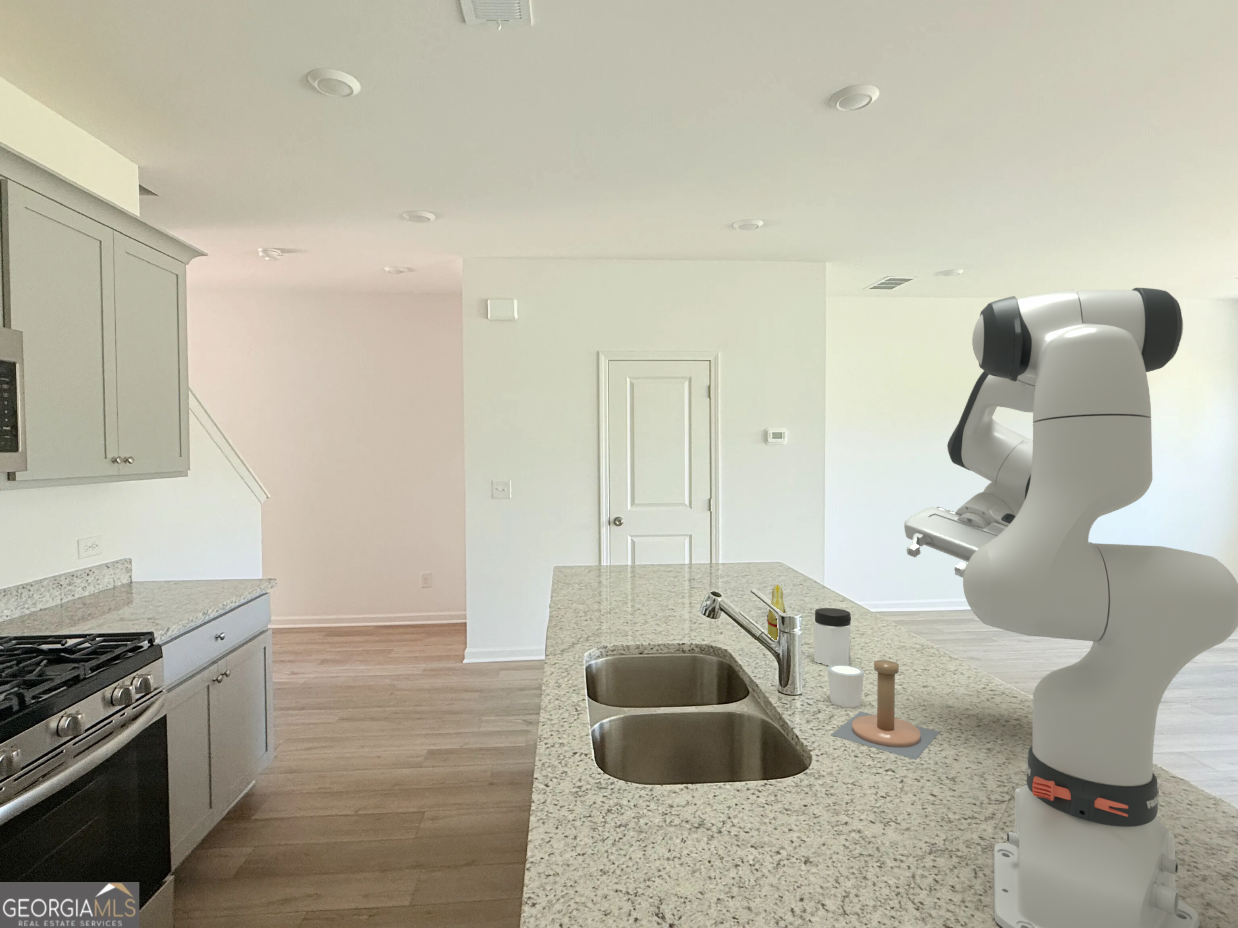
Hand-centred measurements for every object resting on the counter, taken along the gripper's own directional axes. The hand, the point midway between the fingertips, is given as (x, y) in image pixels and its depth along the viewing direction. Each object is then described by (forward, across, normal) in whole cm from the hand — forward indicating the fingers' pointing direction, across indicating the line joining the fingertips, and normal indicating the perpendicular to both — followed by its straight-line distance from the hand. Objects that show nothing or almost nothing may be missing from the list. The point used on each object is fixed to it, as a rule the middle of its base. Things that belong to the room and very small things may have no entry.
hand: (933, 562), depth 115 cm
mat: (+22, +4, +22) cm, 31 cm away
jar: (+4, -29, +42) cm, 51 cm away
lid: (+22, +4, +22) cm, 31 cm away
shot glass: (+18, -9, +28) cm, 35 cm away
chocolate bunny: (+5, -47, +46) cm, 66 cm away
